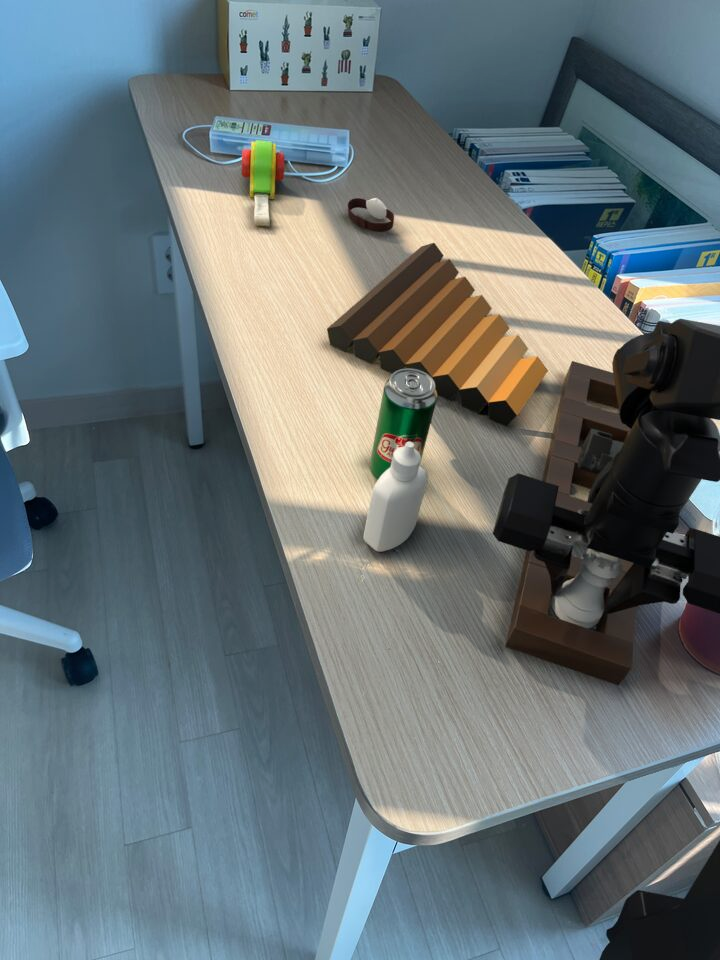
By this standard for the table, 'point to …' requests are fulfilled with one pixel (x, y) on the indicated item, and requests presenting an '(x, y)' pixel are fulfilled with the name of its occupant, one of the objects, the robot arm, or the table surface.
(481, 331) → the pan flute
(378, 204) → the watch
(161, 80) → the table surface
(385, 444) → the soda can
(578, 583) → the rook chess piece
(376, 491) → the eye dropper bottle
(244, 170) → the toy measuring tape
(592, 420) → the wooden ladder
